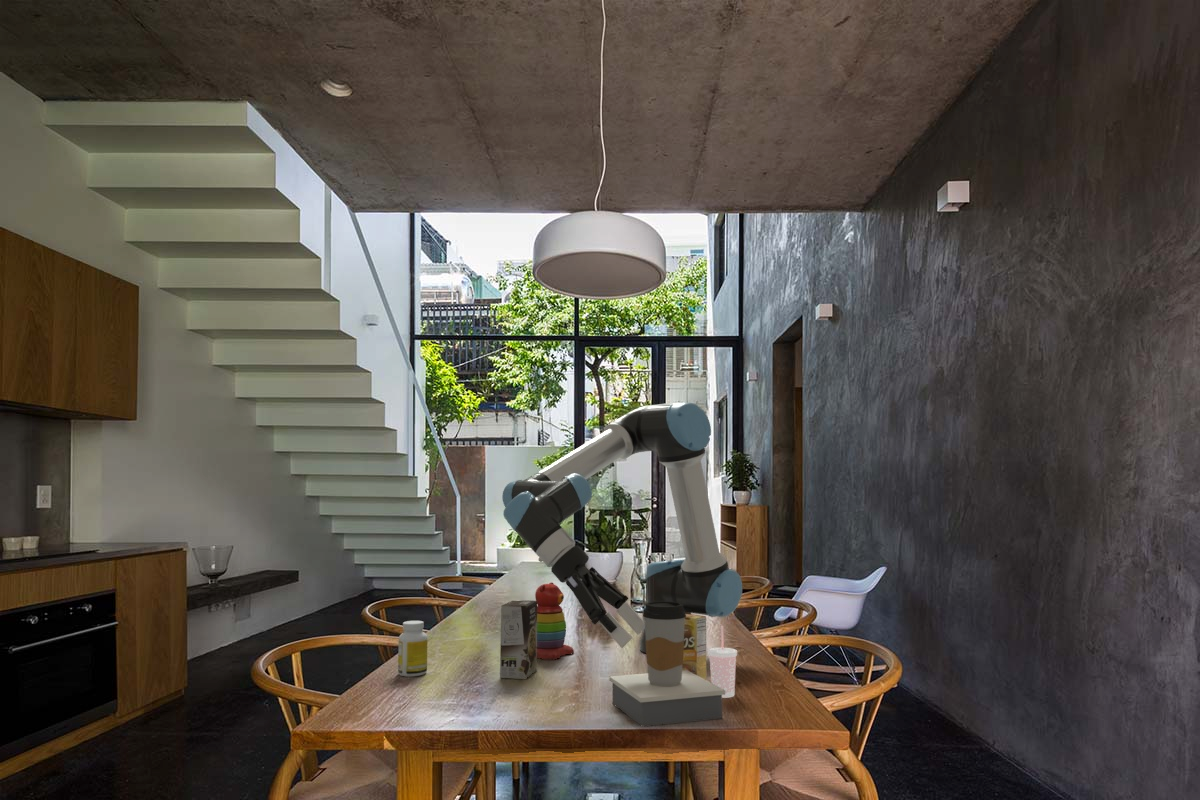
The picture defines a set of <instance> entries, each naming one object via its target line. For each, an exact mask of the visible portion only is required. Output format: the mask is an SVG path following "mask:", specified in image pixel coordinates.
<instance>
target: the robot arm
mask: <svg viewBox="0 0 1200 800" xmlns="http://www.w3.org/2000/svg"><path fill="white" fill-rule="evenodd" d="M711 426H712V425H711V421H710V418H709V417H708V415H707V413H706V412H705V411H704V409H702V408H701V407H700V406H699V405H698V404H695V403H693V402H683V401H677V402H667V403H659V404H648V405H643V406H640V407H637V408H635V409H633V410H631V411H629V412H627V413H625V414H623V415H622V416H619V418H617V419H615V420H614V421H612V422H610V423H608V424H606V426H605V427H604V429H603V431H602V432H601V433H600V434H598V435H596V436H594V437H593V438H592V439H590V440H588V441H587V442H585V443H583V444H582V445H580V446H579V447H577V448H575V449H573V450H572V451H571V452H568V453H567V454H565V455H564V456H562V457H560V458H558V459H557V460H556V461H554V462H552V463H550V464H549V465H547V466H546V467H544V468H543V469H541V470H539V471H537V472H536V473H533V474H532V475H531V476H529V477H527V478H526V479H524V480H522V479H517V480H512V481H510V482H508V483H507V484H506V485H505V487H504V489H503V491H502V502H503V506H504V507H505V508H504V510H503V517H504V519H505V520H506V521H507V523H508V524H509V525H510V527H511V528H512V530H513V531H514V532H515V533H516V534H517V535H518V536H519V537H520V538H521V539H522V540H523V541H524V543H525V544H526V545H527V546H528V547H529V548H530V549H531V550H532V551H533V552H534V553H535V555H536V556H537V557H538V561H539V562H540V563H542V562H543V563H544V565H545V566H546V567H547V568H551V569H550V570H551V571H550V572H551V573H552V574H553V575H554V576H555V578H556V579H558V581H559V582H561V583H563V584H564V583H565V584H566V586H567V587H568V588H569V589H570V591H572V593H573V595H574V596H575V598H576V599H577V600H578V602H579V604H580V605H581V608H582V609H583V610H584V612H585V614H587V616H588V618H589V620H590V621H591V623H592V624H593V625H597V623H599V625H600V626H601V627H602V628H603V629H604V630H605V631H606V632H607V633H608V635H609V637H611V638H612V639H613V641H615V642H616V644H617V645H618V646H619V647H620V648H621V649H623V648H624V647H625V646H626V645H627V644H628V643H630V641H631V640H632V639H633V636H632V635H631V634H630V633H629V632H628V631H627V629H625V628H624V627H623V625H622V624H621V623H620V621H618V620H617V619H616V618H615V617H614V616H613V614H612V613H611V612H610V611H608V612H607V610H606V607H605V606H604V604H603V603H602V600H603V601H605V603H608V604H609V605H610V606H612V607H613V608H614V609H616V610H615V611H616V613H617V614H618V615H619V617H621V618H622V620H623V621H624V622H625V623H626V624H627V625H628V626H629V627H630V629H632V631H633V632H634V633H635V634H636V635H637V636H639V635H640V634H641V633H642V634H641V637H640V640H639V650H640V651H641V652H642V653H644V654H646V643H645V639H646V636H645V621H644V619H643V618H642V617H641V616H640V615H639V614H638V613H637V612H636V611H635V610H634V609H633V607H631V605H630V604H629V603H628V602H627V601H628V600H629V597H628V595H627V594H626V595H625V594H624V593H623V592H621V591H620V590H619V589H618V588H616V587H615V586H614V585H613V584H612V583H611V582H610V581H608V580H607V579H606V578H605V577H603V576H602V575H601V574H600V573H599V572H598V570H596V568H594V567H593V566H591V567H590V568H587V567H586V564H587V562H588V561H589V559H590V557H589V556H588V554H587V553H586V552H585V550H584V549H582V547H580V546H579V545H576V541H575V540H574V539H573V538H572V537H571V535H570V534H569V533H568V532H567V531H566V530H565V529H564V528H563V527H562V525H561V524H562V523H563V522H564V521H566V520H567V519H568V518H570V517H572V516H573V515H574V514H576V513H577V512H579V511H581V510H582V509H583V508H584V507H585V506H586V505H587V504H588V503H589V502H591V500H592V498H593V497H592V496H593V491H592V488H591V486H590V483H589V481H588V480H587V479H590V478H591V477H592V476H594V475H596V474H597V473H598V472H600V471H601V470H603V469H605V468H606V467H608V466H609V465H612V464H613V463H614V462H615V461H617V460H619V459H621V460H623V459H628V458H629V457H631V456H632V455H635V454H638V453H645V452H657V453H656V454H657V458H658V462H659V464H661V465H663V466H664V467H666V471H667V472H666V473H667V477H668V481H669V486H670V491H671V495H672V499H673V505H674V511H675V515H676V519H677V526H678V528H679V535H680V538H681V543H682V548H683V549H682V550H683V553H684V558H685V559H674V560H665V561H664V560H661V561H653V562H650V563H649V564H648V565H647V567H646V575H645V599H646V601H645V602H646V603H648V602H656V601H670V602H679V603H682V604H683V608H684V609H685V614H695V615H697V614H698V615H701V616H708V617H711V618H713V617H719V618H725V617H727V616H730V615H731V614H733V612H735V610H736V608H737V607H738V606H739V603H740V601H741V598H742V594H743V582H742V578H741V576H740V574H739V573H738V572H737V571H735V570H734V569H732V568H730V567H729V563H728V558H727V556H725V555H724V554H722V553H721V551H720V549H719V545H718V540H717V534H716V529H715V524H714V519H713V514H712V509H711V504H710V499H709V495H708V491H707V489H708V488H707V485H706V480H705V475H704V469H703V464H702V459H703V457H704V456H705V455H706V447H707V446H708V445H709V444H710V443H709V442H710V440H711V438H710V436H712V435H711V434H712V430H711V428H712V427H711ZM601 599H602V600H601ZM646 603H645V604H646Z"/></svg>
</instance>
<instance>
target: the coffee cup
mask: <svg viewBox="0 0 1200 800" xmlns="http://www.w3.org/2000/svg"><path fill="white" fill-rule="evenodd" d="M642 616H643V618H644V619H643V621H644V622H645V636H646V639H645V643H646V653H645V654H646V655H645V656H646V663H647V673H648V680H649V681H650V684H652V685H654V686H660V687H672V686H677V685H679V684H680V681H681V680H682V664H683V651H684V625H685V617H686V614H685V609H684V608H683V604H682V603H679V602H670V601H656V602H648V603H645V608H644V609H643V615H642Z"/></svg>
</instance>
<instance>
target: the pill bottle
mask: <svg viewBox="0 0 1200 800" xmlns="http://www.w3.org/2000/svg"><path fill="white" fill-rule="evenodd" d="M424 622H425V621H422V620H407V621H404V622H402V630H403V632H402V633H401V634H400V635H399V636H398V649H397V650H398V653H397V654H398V658H397V659H398V662H397V664H398V665H397V666H398V667H397V672H398V675H400V676H401V677H419V676H423V675H425V674H426V673H427V672H428V635H427V634H426V632H424V631H423V629H424V626H425V625H424V624H425V623H424Z"/></svg>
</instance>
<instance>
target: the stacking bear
mask: <svg viewBox="0 0 1200 800" xmlns="http://www.w3.org/2000/svg"><path fill="white" fill-rule="evenodd" d="M534 596H535V601H537V659H540V658H542V660H546V659H556V660H558V659H557V658H559V659H560V658H561V657H562V656H561V655H564V656H566V655H565V654H571V653H573V654H574V653H575V650H574V648H573V647H572V646H570V645H567V644H565V638H566V633H567V632H566V631H567V622H566V619H565V614H564V611H563V610H564V609H563V608H562V607H561V606H560V605H561V604H562V603H563V601H564V598H565V595H564V592H563V591H562V590H561V589H560V587H558V586H557V585H556V584H555V583H553V581H551V582H549V583H544V584H540V585H539V586H538V587H537V589H536V591H535V594H534ZM571 655H572V654H571ZM560 656H561V657H560Z"/></svg>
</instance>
